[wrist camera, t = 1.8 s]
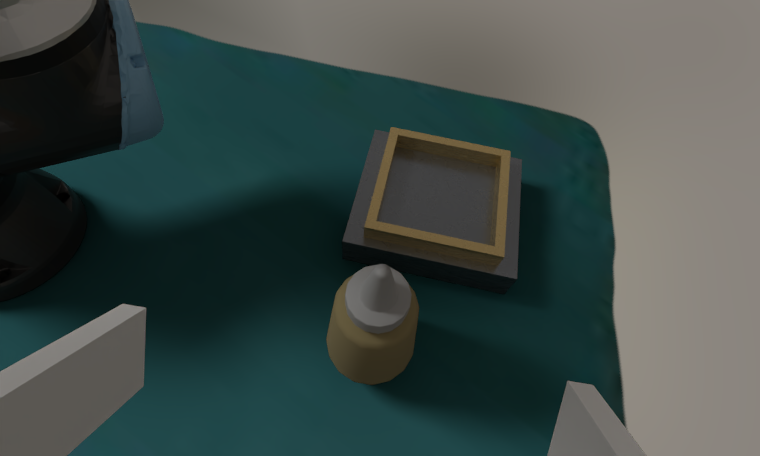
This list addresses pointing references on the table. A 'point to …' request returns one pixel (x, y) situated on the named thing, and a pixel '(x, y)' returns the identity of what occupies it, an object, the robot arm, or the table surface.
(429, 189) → the square gold-rimmed tray
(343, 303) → the squeeze bottle
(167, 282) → the table surface
